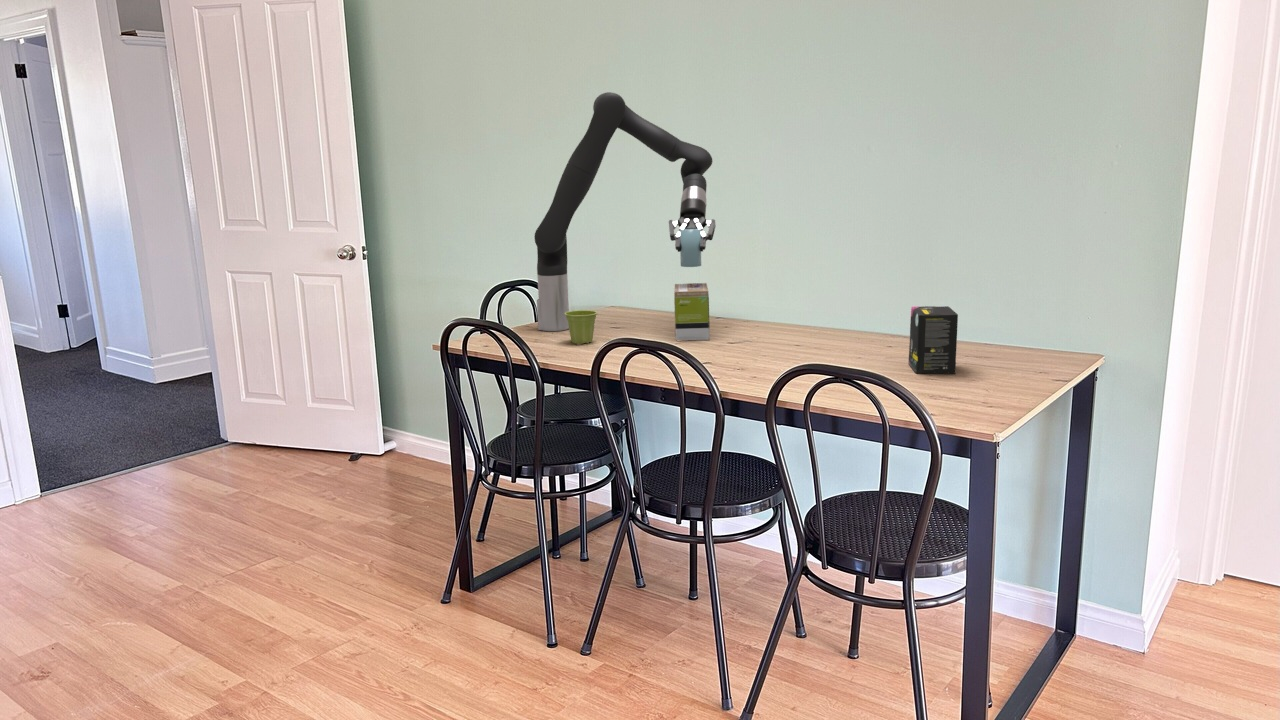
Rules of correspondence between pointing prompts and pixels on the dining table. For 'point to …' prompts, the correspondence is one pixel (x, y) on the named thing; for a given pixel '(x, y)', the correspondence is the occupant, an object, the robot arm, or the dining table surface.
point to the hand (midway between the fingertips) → (690, 249)
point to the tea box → (691, 311)
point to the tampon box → (933, 340)
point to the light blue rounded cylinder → (690, 247)
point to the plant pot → (581, 325)
